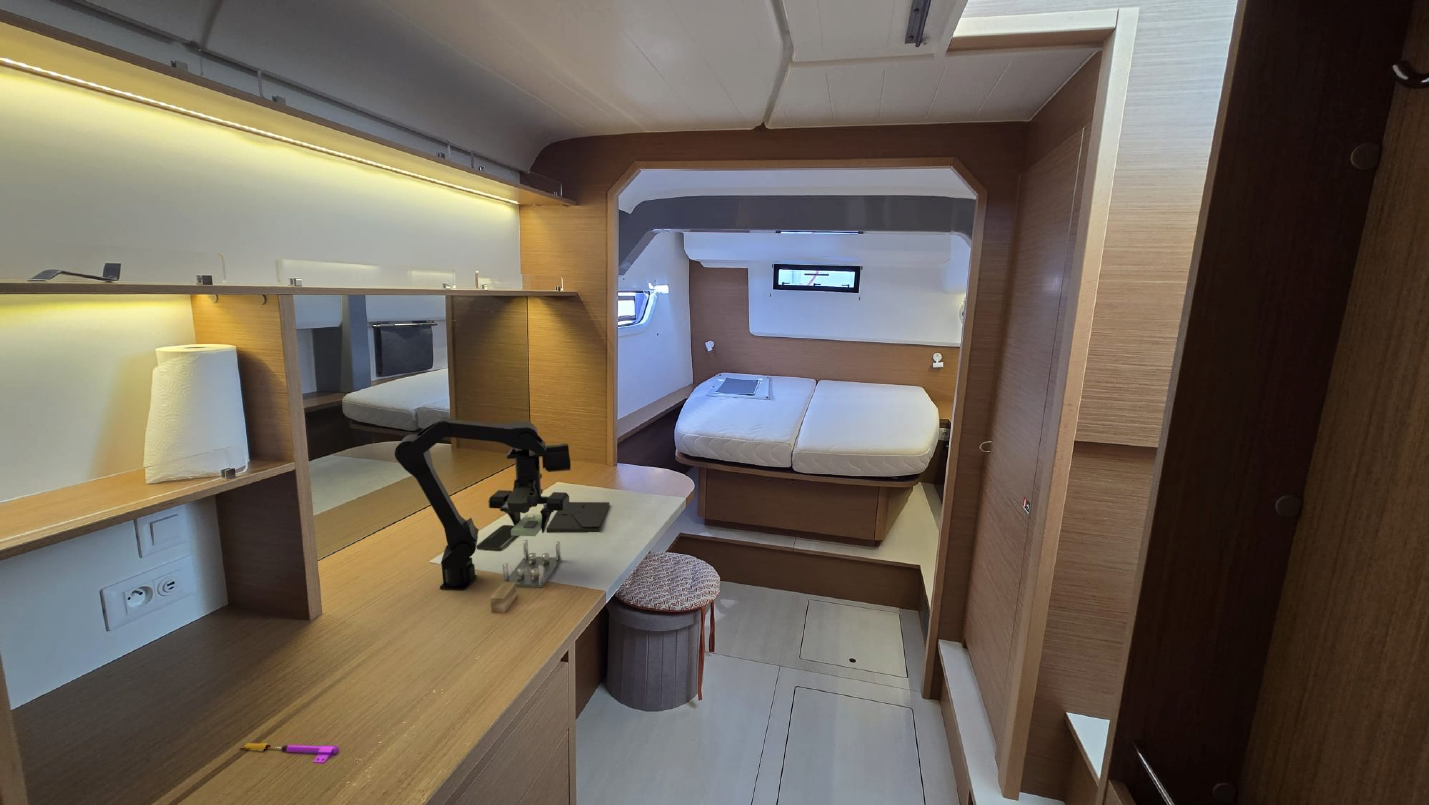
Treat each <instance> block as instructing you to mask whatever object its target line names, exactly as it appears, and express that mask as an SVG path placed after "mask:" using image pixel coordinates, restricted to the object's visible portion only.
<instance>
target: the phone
mask: <svg viewBox="0 0 1429 805" xmlns="http://www.w3.org/2000/svg"><path fill="white" fill-rule="evenodd" d="M513 527H514V525H511V524H509V525H508V524H502V525H501V526H500V527H498V528H497V529H495V530H494V531H493V532H492V533H490V534H489V535H488V536H487V537H486V538H484V539H483V540H481V541H480V542H479V543H477V545H476V550H477V551H478V550H480V551H488V552H489V551H490V552H501V551H504V549H506V548H507V547H509V545H511V543H513V542H514V541H515V540H516V539H517V538H518V537H519V536H514V535H511V529H512V528H513Z"/></svg>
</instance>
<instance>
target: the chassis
mask: <svg viewBox="0 0 1429 805" xmlns="http://www.w3.org/2000/svg"><path fill="white" fill-rule="evenodd" d="M554 544H555V556H550V554H549V553H547V552H545V553H542V554H541V556H537V553H535V552H531V553H530V552H529V540H527V539H525V540H523V541H522V546H523V558H522V560H520V562H519V563H518V565H516V566H515V568H514V569H513V571H512V572H511V573H510V574H509V564H508V563H503V564H502V574H503V582H516V588H538V589H539V588H544V587H545V586H546V584H547V583H548V581H549V580H550V579H551V577H552V576H553V574H554V572H555V570H556V569H557V568H558V566H559V565H560V564H561V562H562V556H561V552H562V551H561V541H555V542H554Z"/></svg>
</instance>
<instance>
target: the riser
mask: <svg viewBox="0 0 1429 805" xmlns="http://www.w3.org/2000/svg"><path fill="white" fill-rule="evenodd" d="M516 597H517V587H516V582H504V581H503V582H502V583H501V584H500V586H499V587H498V588H497V589H496V591H495V592H494V593H493V594H492V596H491V597H490V608H491V609H490V610H491V613H505V612H507V610H508V609H509V607H510V606H511V604H512V603H514V602H513V601H514V600H515V599H516Z"/></svg>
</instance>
